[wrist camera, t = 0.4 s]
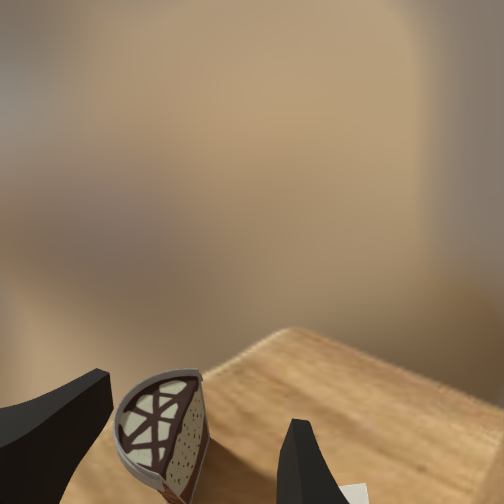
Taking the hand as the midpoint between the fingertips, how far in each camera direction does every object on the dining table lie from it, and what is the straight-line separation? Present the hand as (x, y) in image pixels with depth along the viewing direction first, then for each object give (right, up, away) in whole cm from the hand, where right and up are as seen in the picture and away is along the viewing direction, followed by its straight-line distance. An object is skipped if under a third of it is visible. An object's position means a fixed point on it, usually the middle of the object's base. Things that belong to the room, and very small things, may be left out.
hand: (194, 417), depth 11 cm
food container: (-6, -16, +16) cm, 23 cm away
